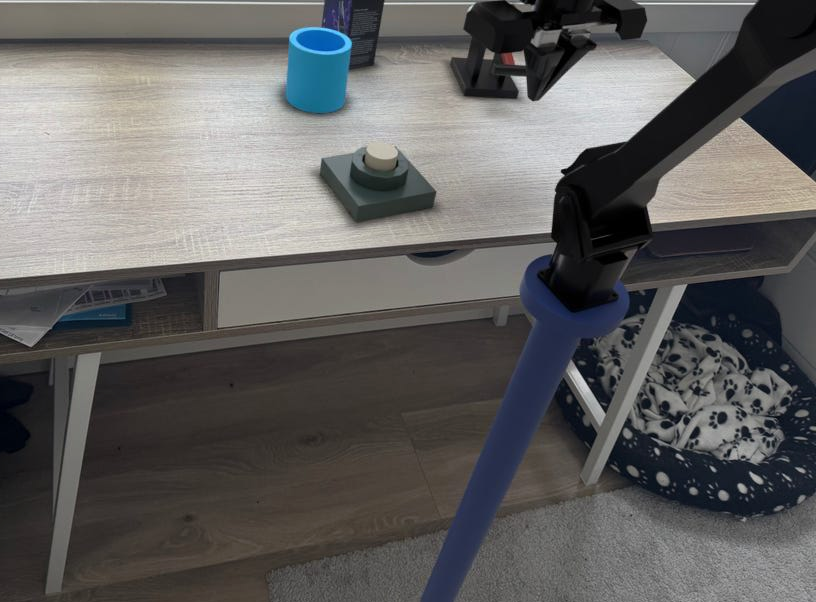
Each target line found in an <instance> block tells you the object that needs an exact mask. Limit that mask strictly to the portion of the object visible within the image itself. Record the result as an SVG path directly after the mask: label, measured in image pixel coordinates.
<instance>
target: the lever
mask: <svg viewBox="0 0 816 602" xmlns="http://www.w3.org/2000/svg"><path fill="white" fill-rule="evenodd" d="M501 55H502V59H503V63H504V64H493V65H492V75H505V76H511V77H524V78H526V66H525V64H516V63H515V59H514V55H513V53H504V54H501Z"/></svg>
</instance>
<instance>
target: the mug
mask: <svg viewBox="0 0 816 602" xmlns="http://www.w3.org/2000/svg"><path fill="white" fill-rule="evenodd" d="M288 41H289V42H288V54H287V70H286V83H285V84H286V87H285V99H286V101H287V103H288V104H289V105H291V106H292V107H294V108H296V109H298V110H300V111H303V112H306V113H311V114H313V113H314V114H328V113H333V112H337V111H338V110H340V109H342V108H343V106H345V102H346V93H347V87H348V78H349V71H350V70H349V69H350V68H349V62H350V54H351V46H352V42H351V40H350V39H349V38H348V37H347V36H346V35H344V34H342V33H340V32H338V31H335V30H331V29H328V28H321V27H319V26H316V27H314V26H313V27H311V26H309V27H301V28H299V29H296V30H294V31H293V32H292V33H290V34H289V39H288Z"/></svg>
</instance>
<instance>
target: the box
mask: <svg viewBox="0 0 816 602" xmlns="http://www.w3.org/2000/svg"><path fill="white" fill-rule="evenodd" d="M384 6H385V0H324V2H323V11H322V17H321V18H322V19H321V27H320V28H328V29H331V30H335V31H338V32H340V33H342V34H344V35H346V36H347V37H348V38H349V39H350V40H351V42H352V46H351V54H350V62H349V69H352V68H353V69H354V68H359V67H366V66H372V65H374V64H375V59H376V54H377V53H376V52H377V48H378V47H377V46H378V41H379V36H380V31H381V30H380V29H381V24H382V18H383V13H384Z"/></svg>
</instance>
